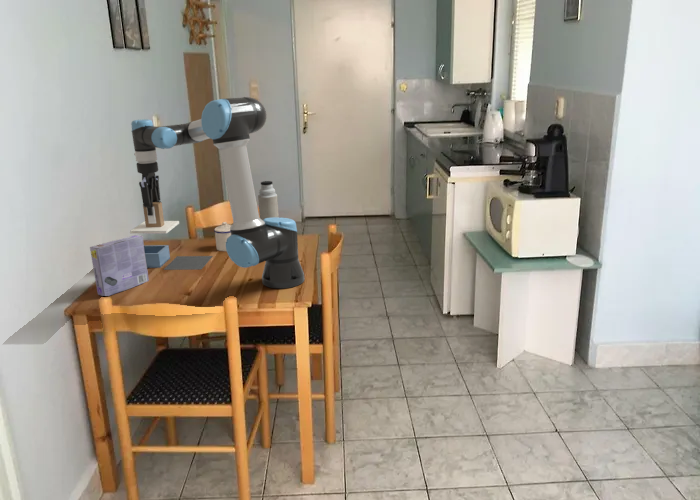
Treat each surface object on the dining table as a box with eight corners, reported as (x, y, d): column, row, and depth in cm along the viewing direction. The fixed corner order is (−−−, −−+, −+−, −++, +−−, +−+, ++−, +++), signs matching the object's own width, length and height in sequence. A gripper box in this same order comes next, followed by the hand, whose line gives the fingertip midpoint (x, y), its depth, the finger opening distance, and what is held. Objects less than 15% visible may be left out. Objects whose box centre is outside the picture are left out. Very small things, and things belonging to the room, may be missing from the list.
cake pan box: (144, 278, 212) (137, 232, 207) (152, 280, 210) (145, 234, 204) (96, 295, 197) (87, 246, 192) (105, 298, 195) (96, 249, 189)
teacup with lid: (230, 252, 238) (227, 226, 235) (211, 251, 242) (209, 224, 238) (245, 244, 249) (243, 218, 245) (227, 242, 252) (225, 217, 249)
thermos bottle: (273, 242, 252) (268, 179, 243) (284, 245, 246) (280, 181, 237) (258, 246, 246) (253, 182, 238) (269, 249, 241) (264, 184, 232)
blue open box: (160, 268, 222) (158, 253, 220) (132, 268, 223) (130, 254, 221) (170, 259, 233) (168, 245, 231) (143, 259, 233) (141, 245, 231)
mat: (201, 270, 219) (201, 269, 219) (163, 270, 220) (163, 269, 220) (213, 256, 234) (213, 255, 234) (177, 257, 235) (177, 256, 235)
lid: (166, 233, 216) (163, 207, 213) (130, 233, 217) (126, 207, 214) (179, 223, 229) (176, 199, 226) (145, 223, 230) (141, 199, 227)
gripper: (145, 158, 223) (153, 216, 231) (127, 165, 207) (136, 227, 215) (164, 158, 223) (171, 216, 230) (147, 165, 207) (155, 227, 214)
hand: (154, 221), depth 222 cm, fingers closed on lid, 3 cm apart
